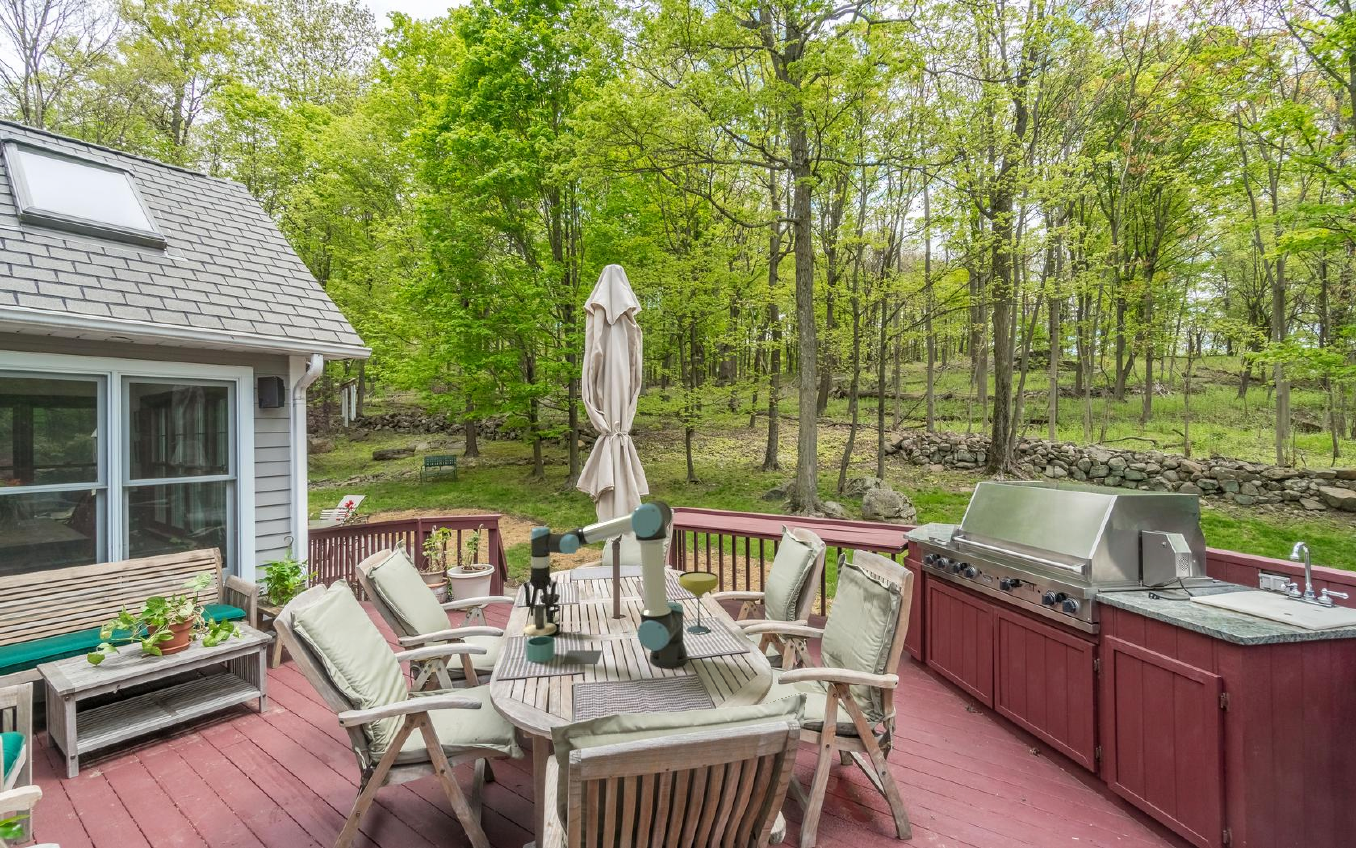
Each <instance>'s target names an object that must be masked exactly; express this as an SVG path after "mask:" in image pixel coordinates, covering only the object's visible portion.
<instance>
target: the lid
mask: <svg viewBox="0 0 1356 848" xmlns="http://www.w3.org/2000/svg"><path fill="white" fill-rule="evenodd" d="M535 607H536V624H535V625H533V623H530V624H528V625H525V626H524V627H523V630H522V631H523V634H524V635H526V636H528V637H529V636H530V637H538V636H545V635H549V634H552V633H554V632H555V631H556V625H555V624H552V623H547V624H546V625H544V608H545V604H544V603H539V604H535Z"/></svg>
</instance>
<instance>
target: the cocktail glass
mask: <svg viewBox="0 0 1356 848" xmlns="http://www.w3.org/2000/svg"><path fill="white" fill-rule="evenodd" d="M678 583H679V586H680V587H682V588H683V589H684V590H686V591H688V592H689V593H692V594H693V595H694V596H695V597H696V599H697V624H696V625H693V626H689V627H688V628H687V629H686V631H687V632H688V633H689V632H691V633H690V634H692V632H693V633H700V632H709V629H708V628H709V627H708V626H705V625H701V621H700V619H701V617H700V599H701V598H702V597H703V595H705V594H706V593H709V592H710V591H713V590H714V589H715V588H716V587H718V585H719V576H718V574H716V573H713V572H709V571H704V570H703V571H700V570H697V571H695V570H694V571H686V572H682V573H681V574H680V575H679V578H678ZM709 633H710V632H709Z"/></svg>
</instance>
